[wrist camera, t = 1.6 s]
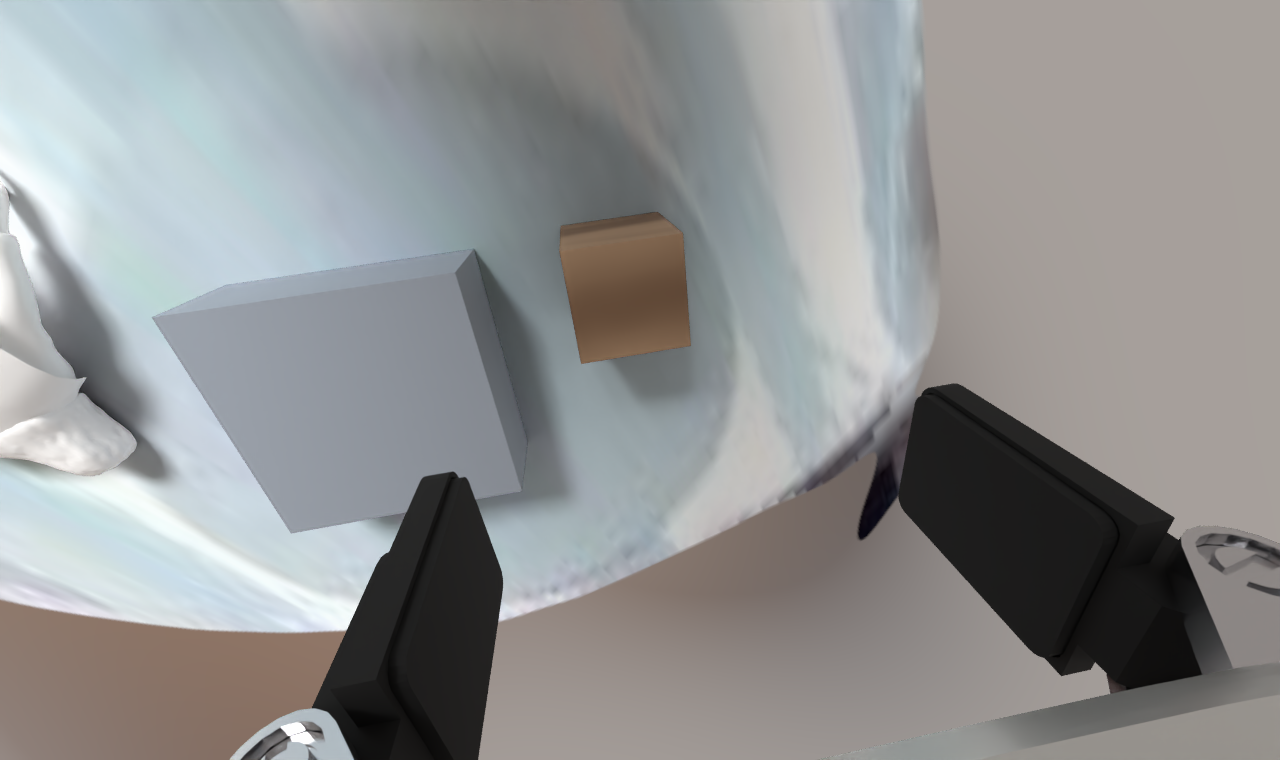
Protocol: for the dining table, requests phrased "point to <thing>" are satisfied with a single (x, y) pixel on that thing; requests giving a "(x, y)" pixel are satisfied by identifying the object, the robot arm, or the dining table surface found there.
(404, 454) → the plinth
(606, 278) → the walnut block
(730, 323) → the dining table surface
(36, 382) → the figurine
